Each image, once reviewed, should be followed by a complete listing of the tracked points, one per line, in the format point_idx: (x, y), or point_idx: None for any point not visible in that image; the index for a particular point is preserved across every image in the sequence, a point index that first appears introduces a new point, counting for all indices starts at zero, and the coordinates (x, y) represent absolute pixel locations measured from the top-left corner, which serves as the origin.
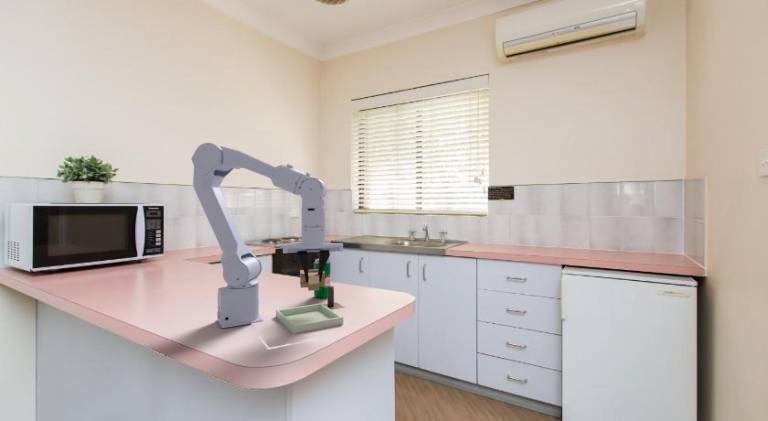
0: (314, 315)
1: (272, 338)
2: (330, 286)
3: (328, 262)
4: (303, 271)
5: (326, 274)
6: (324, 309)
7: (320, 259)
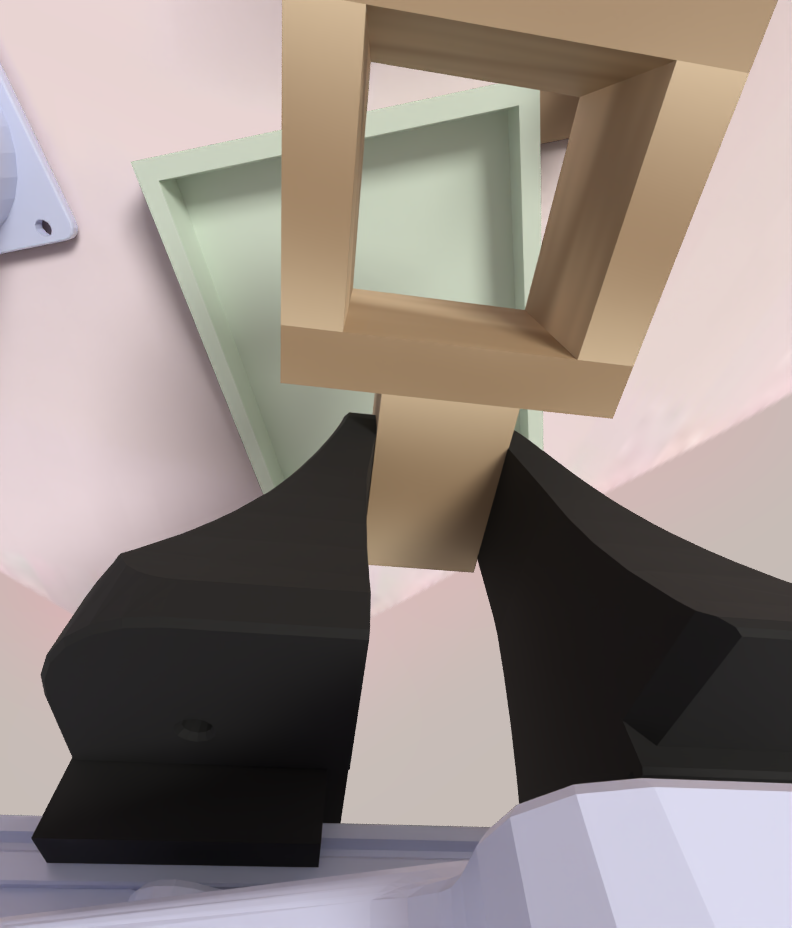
0: (429, 259)
1: (190, 496)
2: None
3: None
4: (341, 151)
5: None
6: (518, 224)
7: (526, 782)
